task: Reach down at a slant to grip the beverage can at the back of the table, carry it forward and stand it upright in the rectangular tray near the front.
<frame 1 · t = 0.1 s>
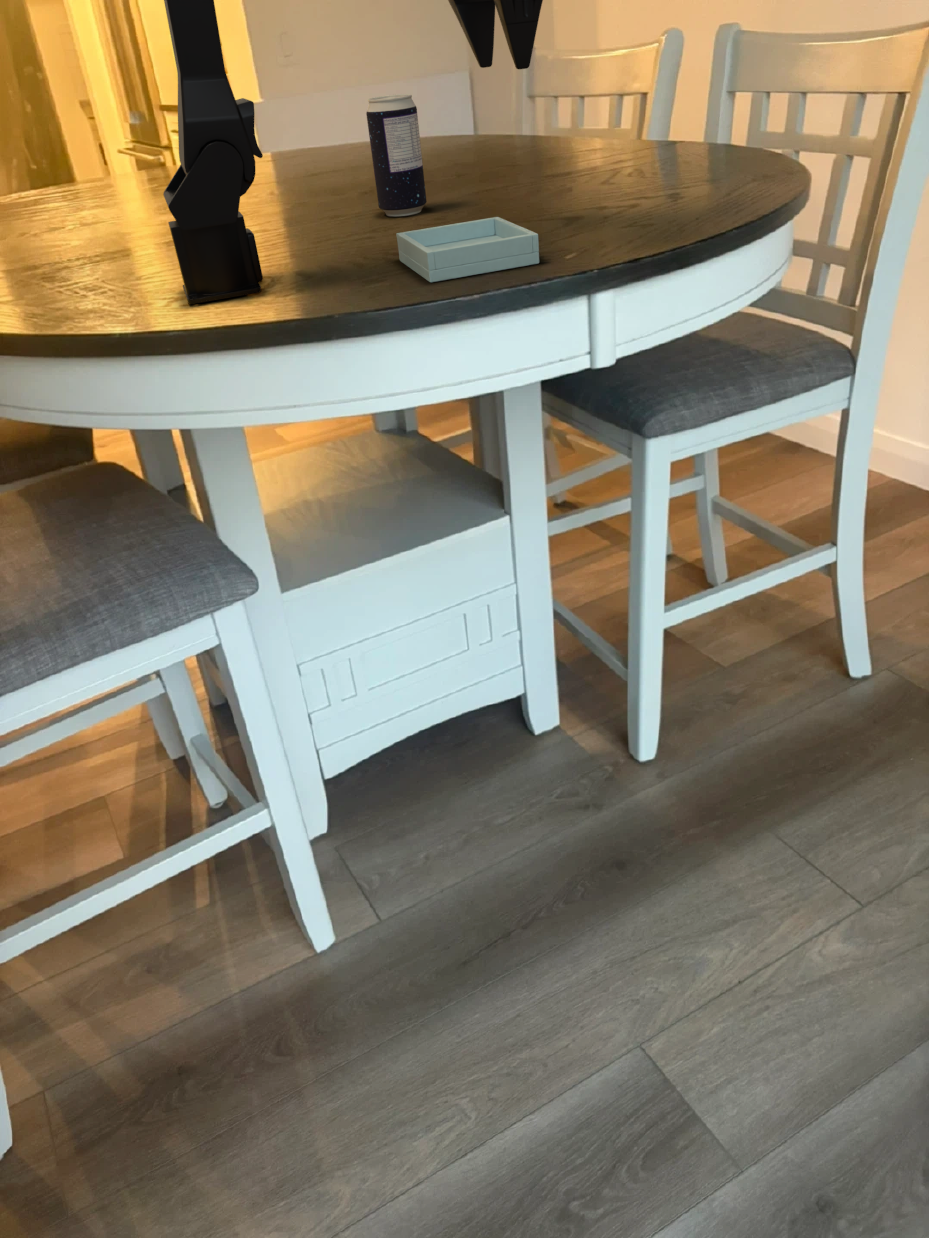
hand: (503, 68, 80), 15 cm above the table, tool pointing down, fingers open, 9 cm apart
beverage can: (403, 214, 108), on the table
rectangular tray: (467, 262, 84), on the table
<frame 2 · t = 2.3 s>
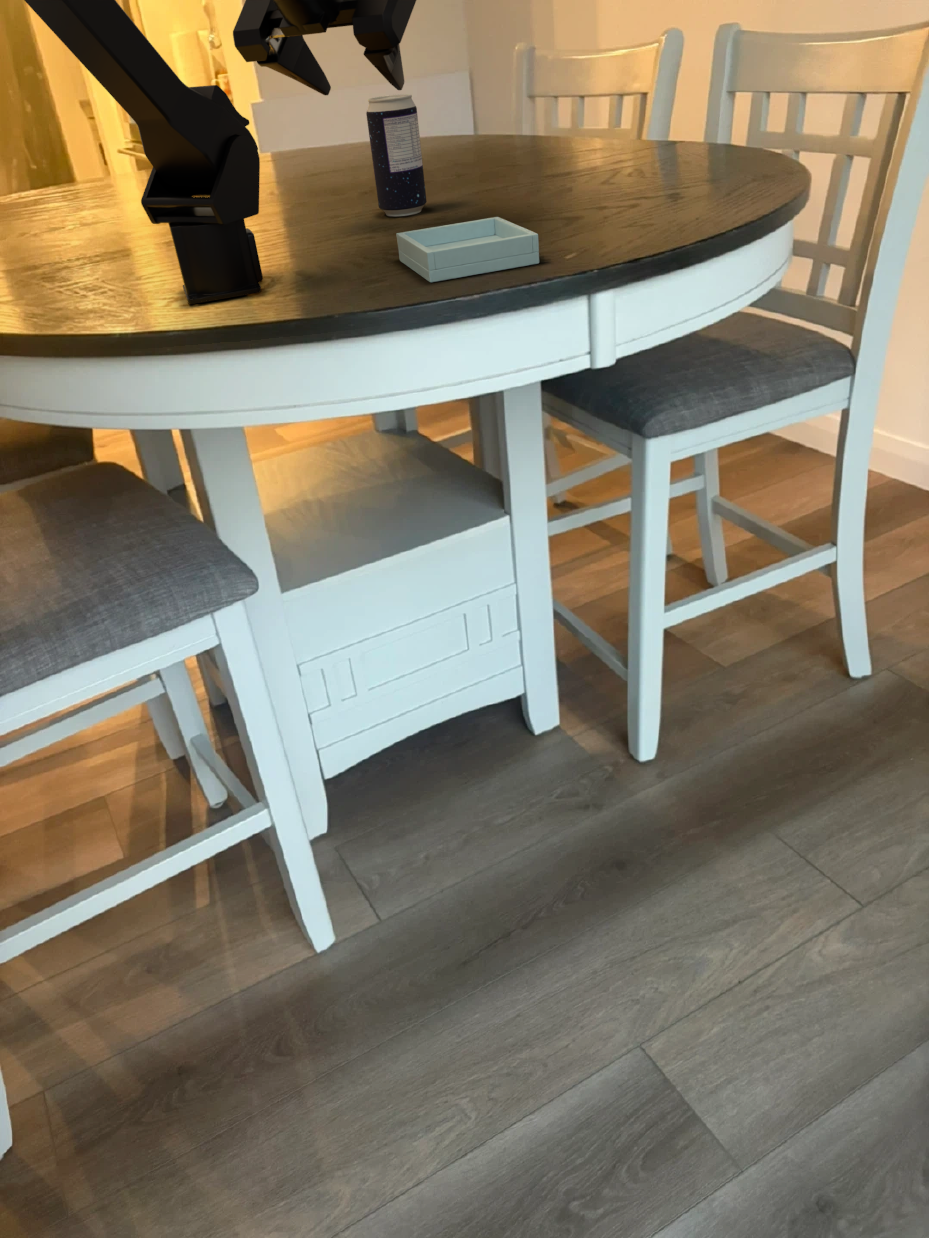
hand: (364, 89, 94), 13 cm above the table, tool tilted 40°, fingers open, 9 cm apart
nothing on the table moved.
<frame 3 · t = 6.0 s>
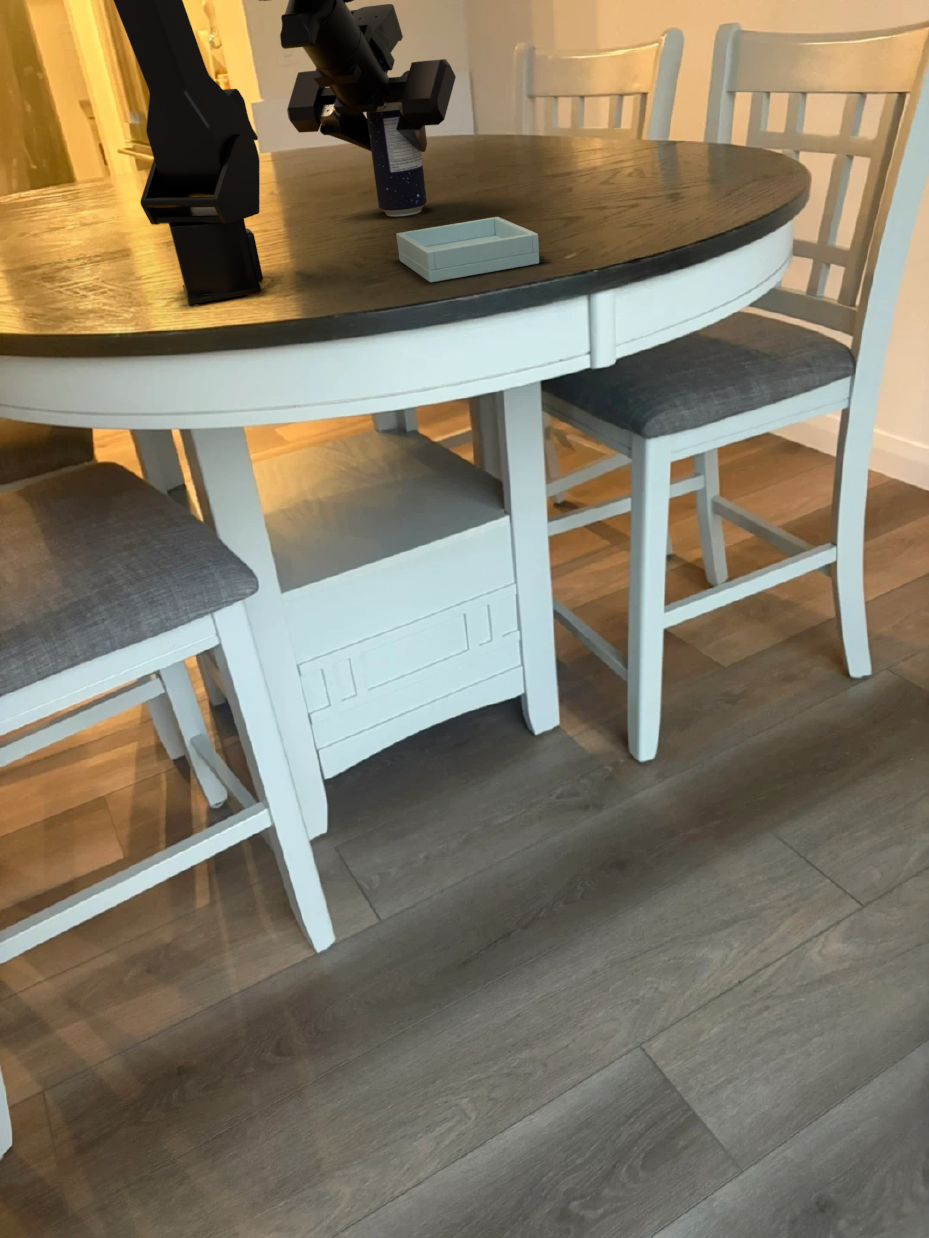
hand: (402, 149, 105), 7 cm above the table, tool tilted 45°, fingers closed on beverage can, 5 cm apart
beverage can: (403, 214, 108), on the table, touching gripper
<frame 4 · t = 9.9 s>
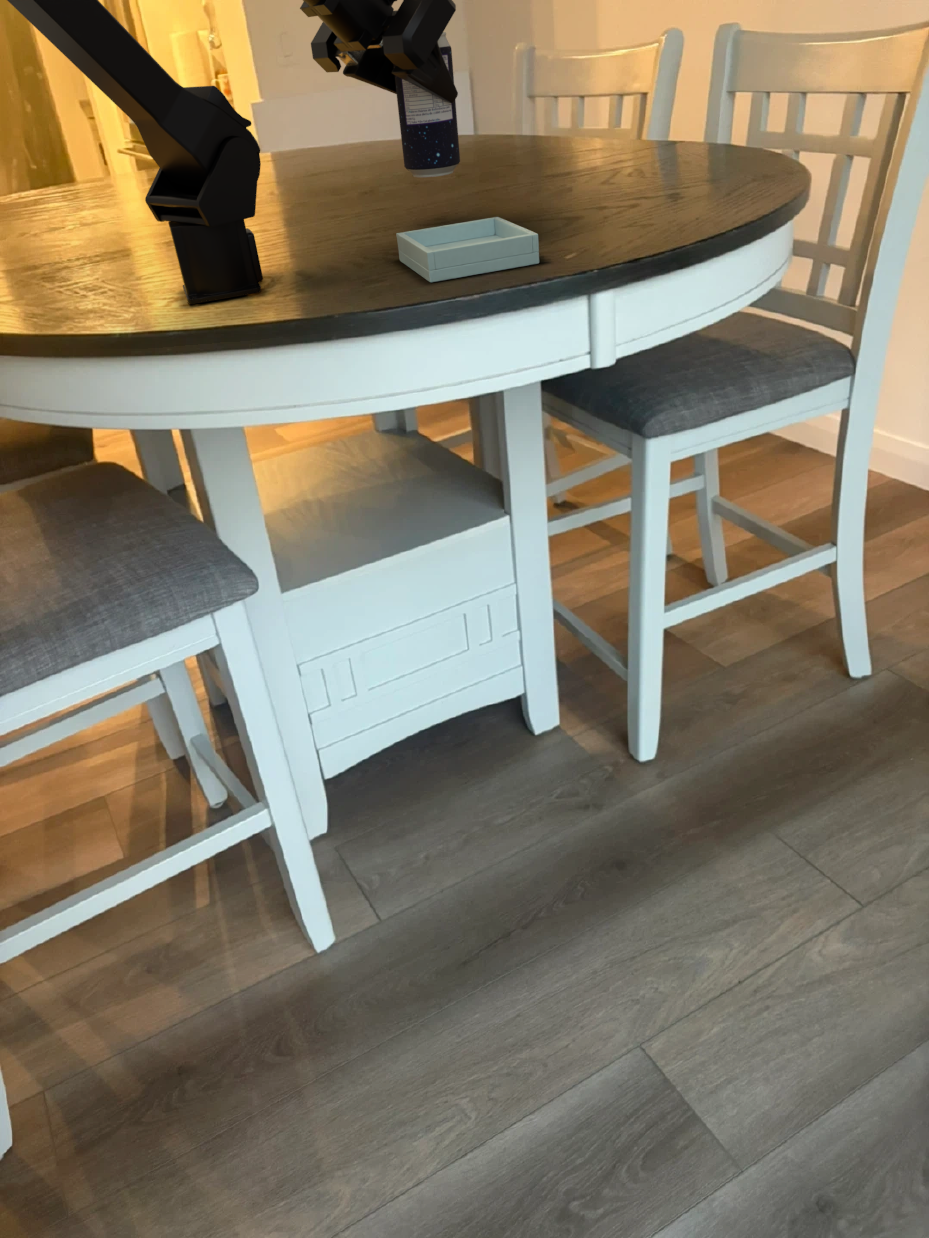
hand: (438, 99, 90), 12 cm above the table, tool tilted 45°, fingers closed on beverage can, 5 cm apart
beverage can: (433, 176, 93), point 5 cm above the table, touching gripper
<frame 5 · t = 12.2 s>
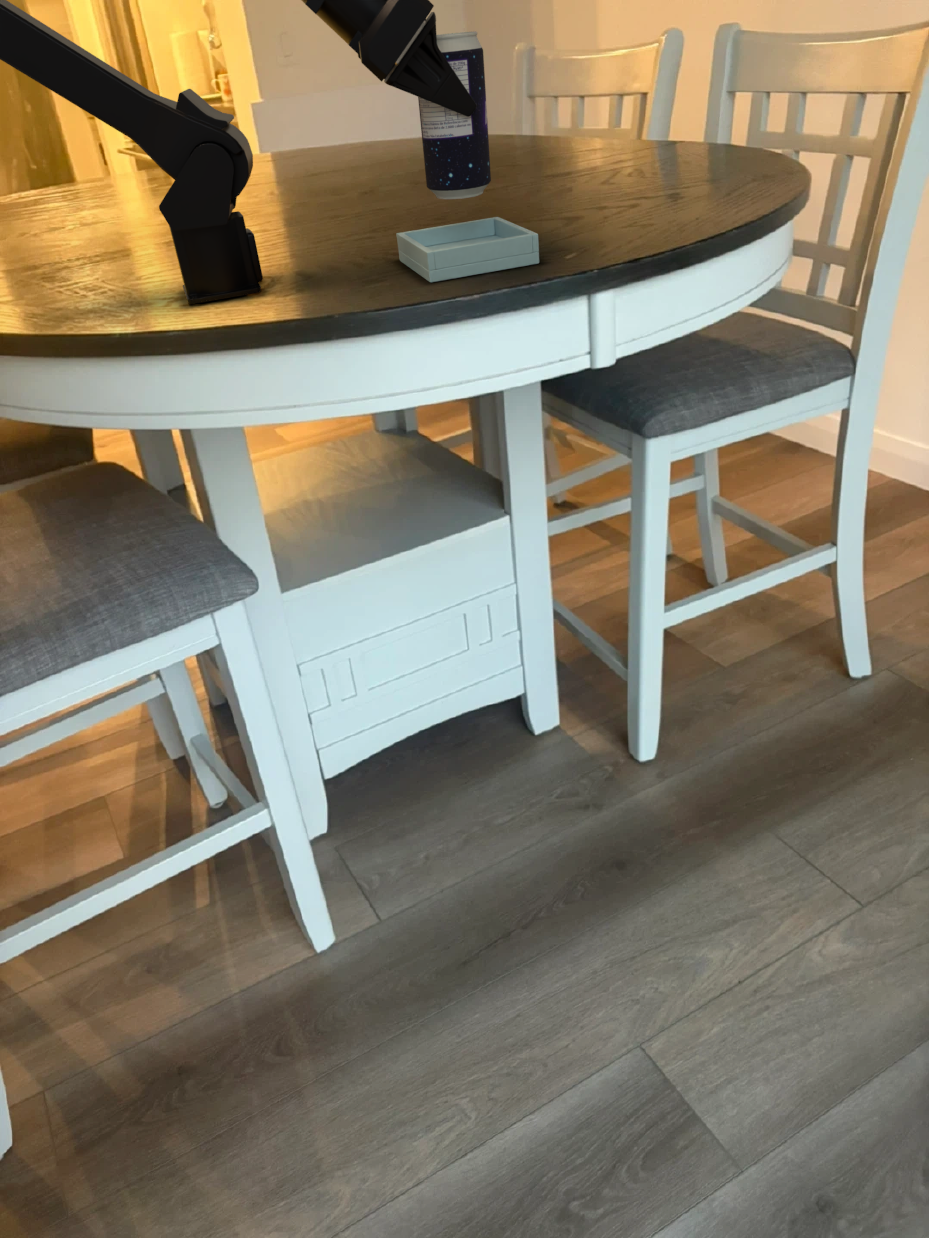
hand: (469, 109, 77), 12 cm above the table, tool tilted 45°, fingers closed on beverage can, 5 cm apart
beverage can: (459, 197, 81), point 6 cm above the table, touching gripper
when the fingers open (8 cm above the table, at t = 14.1 s): beverage can stays where it is, resting on rectangular tray.
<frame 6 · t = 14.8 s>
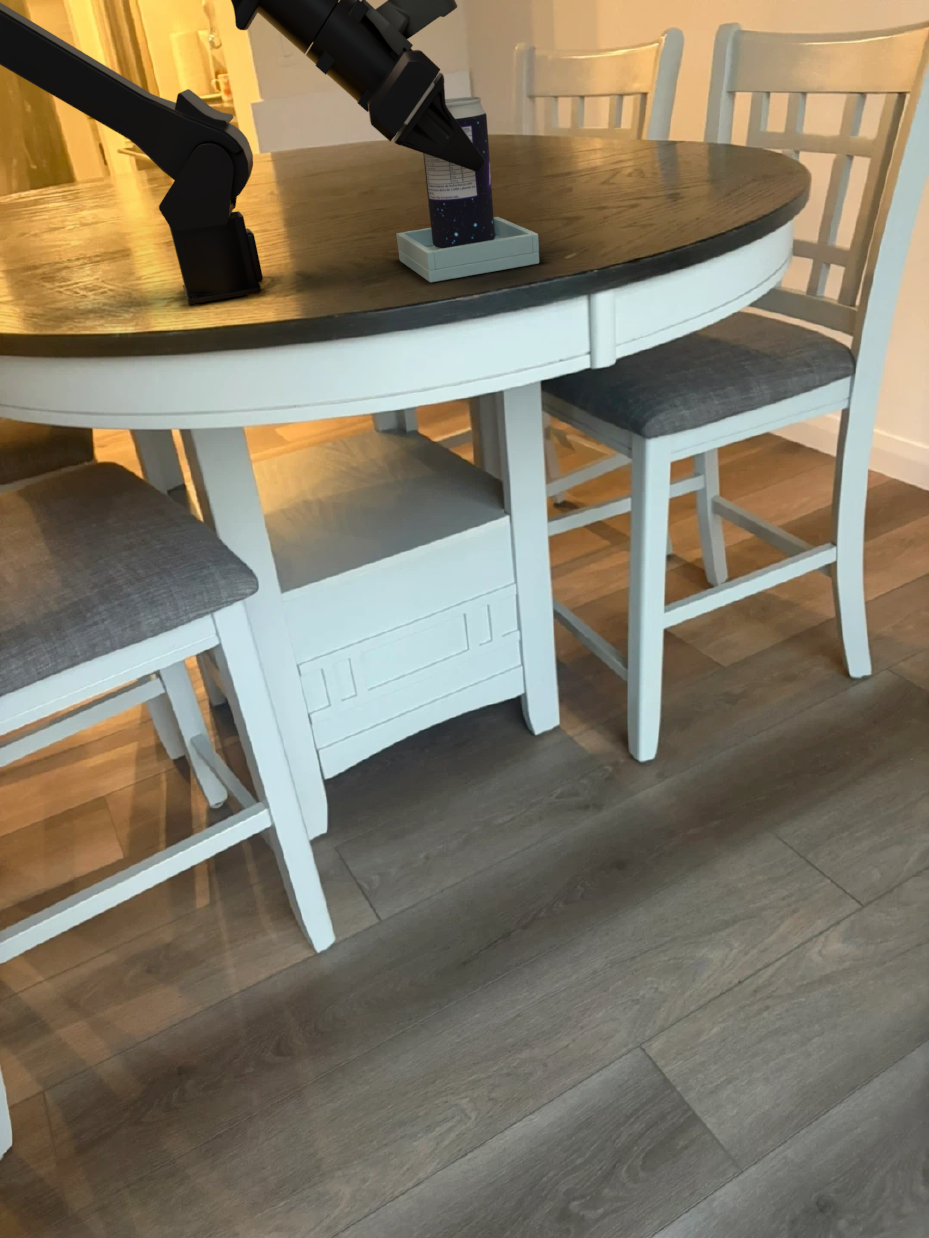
hand: (474, 160, 79), 8 cm above the table, tool tilted 45°, fingers open, 9 cm apart
beverage can: (464, 253, 83), point 1 cm above the table, touching rectangular tray
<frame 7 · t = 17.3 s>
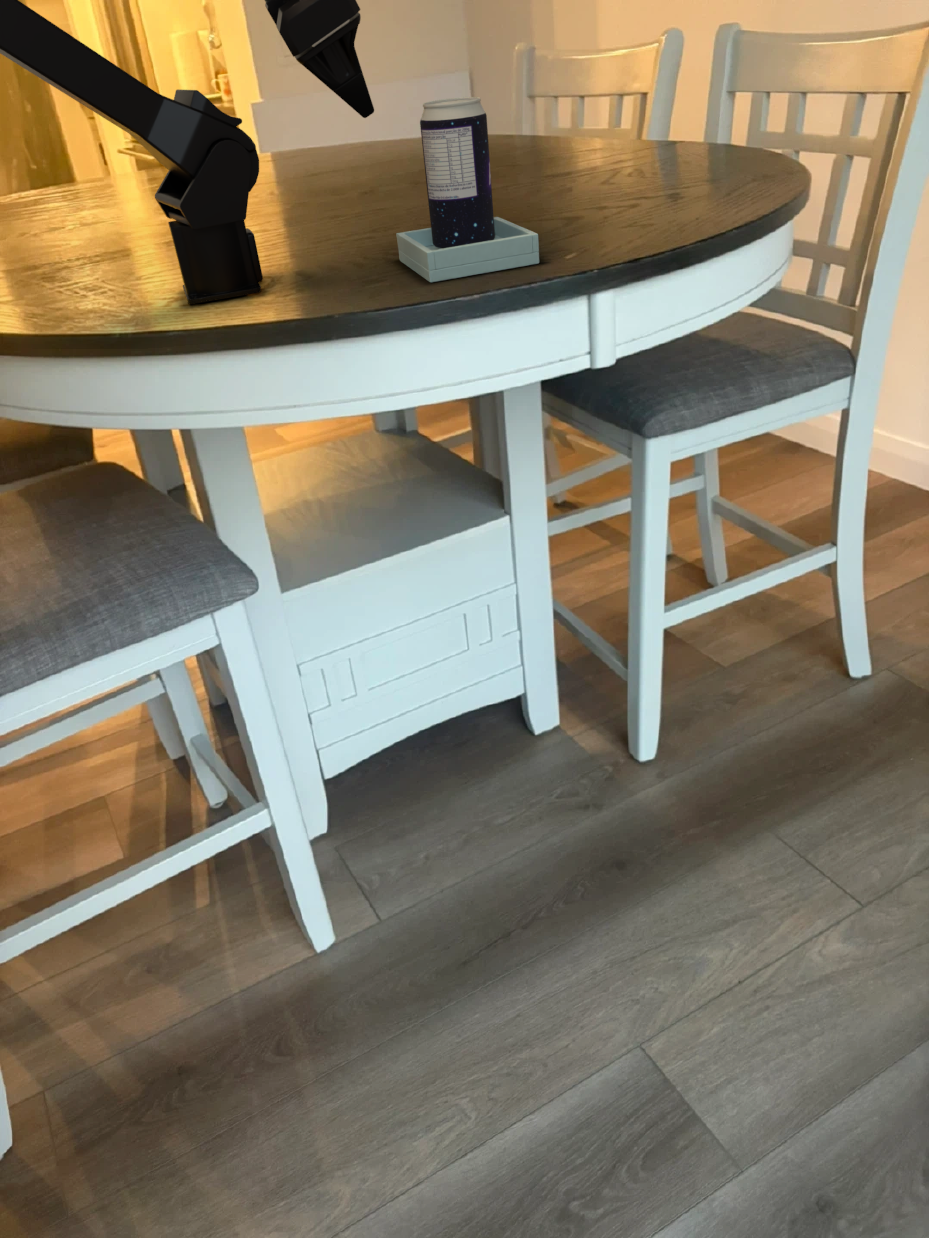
hand: (361, 104, 81), 13 cm above the table, tool tilted 25°, fingers open, 9 cm apart
nothing on the table moved.
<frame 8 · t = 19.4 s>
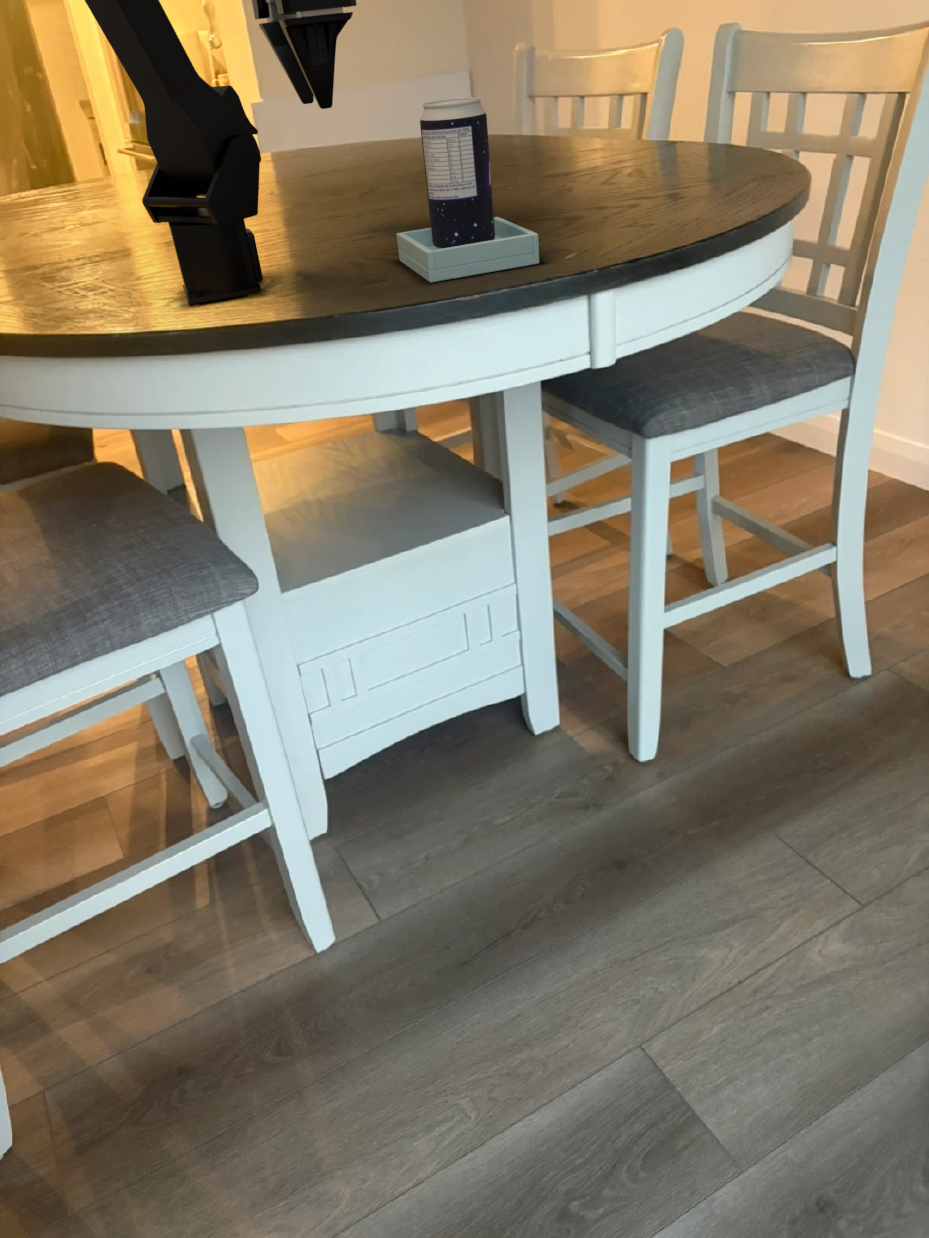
hand: (316, 106, 86), 13 cm above the table, tool pointing down, fingers open, 9 cm apart
nothing on the table moved.
at the end: beverage can inside the target area in the rectangular tray (0.1 cm from its centre), point 0.8 cm above the rectangular tray's base; beverage can tilted 0°; the gripper is holding nothing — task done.
